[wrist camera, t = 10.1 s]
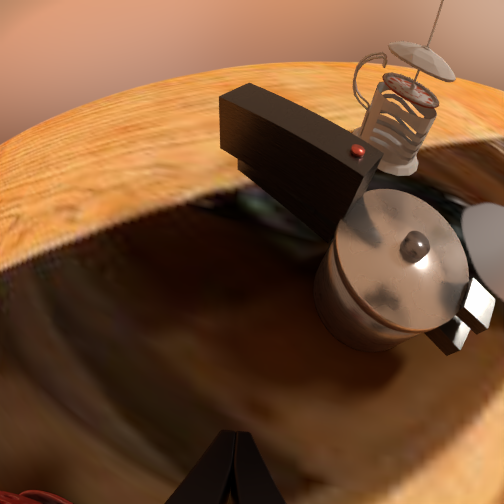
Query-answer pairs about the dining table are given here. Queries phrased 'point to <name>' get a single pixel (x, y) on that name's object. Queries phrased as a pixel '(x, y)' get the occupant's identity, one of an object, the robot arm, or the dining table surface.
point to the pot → (336, 296)
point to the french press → (390, 131)
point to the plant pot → (31, 498)
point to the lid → (358, 214)
